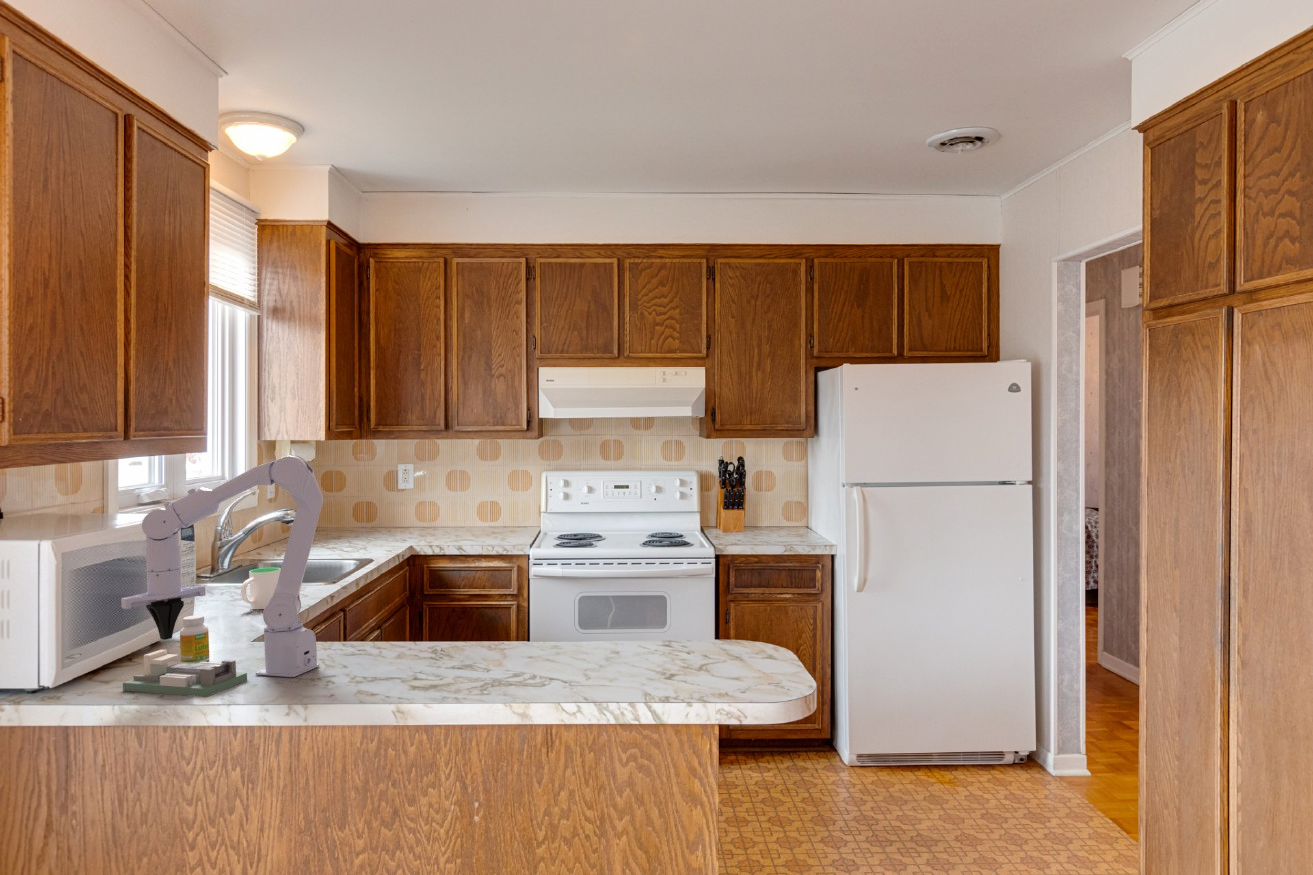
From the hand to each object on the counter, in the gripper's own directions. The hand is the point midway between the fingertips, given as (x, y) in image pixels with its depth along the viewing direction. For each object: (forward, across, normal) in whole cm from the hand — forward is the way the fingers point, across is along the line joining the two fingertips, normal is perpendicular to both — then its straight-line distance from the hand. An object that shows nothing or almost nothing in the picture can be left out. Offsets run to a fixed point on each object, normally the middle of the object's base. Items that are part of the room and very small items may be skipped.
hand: (166, 638), depth 162 cm
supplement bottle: (+9, -10, -12) cm, 19 cm away
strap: (+6, -3, +7) cm, 10 cm away
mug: (+9, -46, -54) cm, 71 cm away
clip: (+7, 0, -1) cm, 8 cm away
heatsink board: (+9, -2, +4) cm, 10 cm away
